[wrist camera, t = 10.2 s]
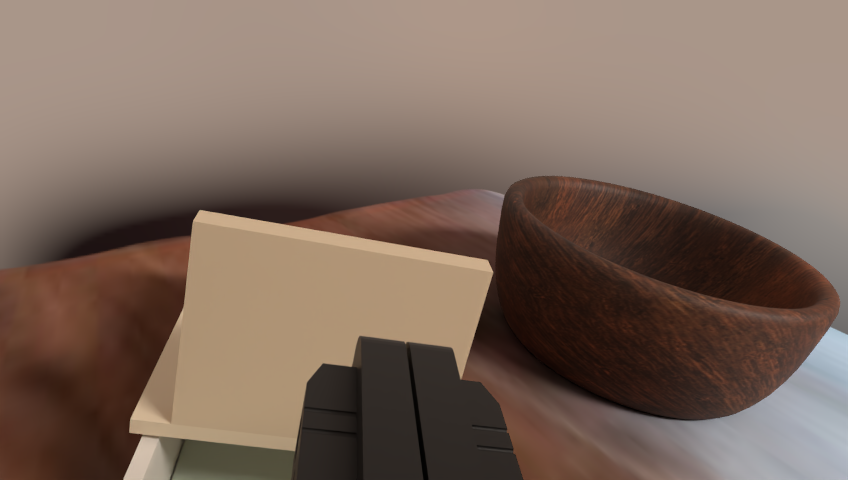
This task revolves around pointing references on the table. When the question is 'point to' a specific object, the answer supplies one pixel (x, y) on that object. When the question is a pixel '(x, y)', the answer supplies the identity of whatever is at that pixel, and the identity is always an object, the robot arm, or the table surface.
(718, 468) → the table surface
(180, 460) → the mailer box
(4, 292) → the table surface
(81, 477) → the table surface
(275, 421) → the lid
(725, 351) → the wooden bowl
